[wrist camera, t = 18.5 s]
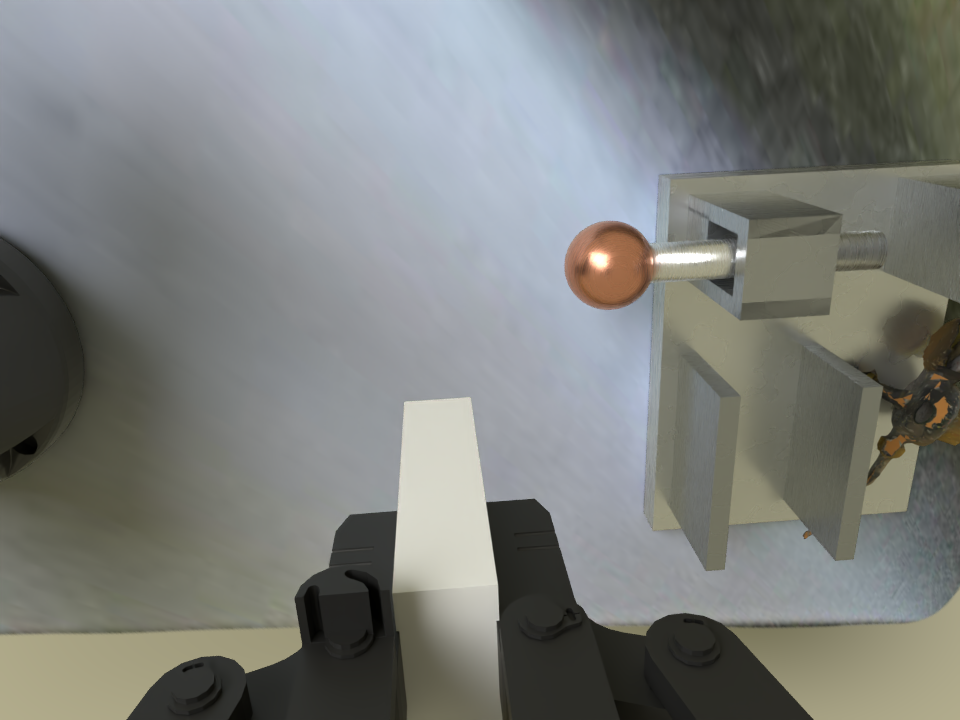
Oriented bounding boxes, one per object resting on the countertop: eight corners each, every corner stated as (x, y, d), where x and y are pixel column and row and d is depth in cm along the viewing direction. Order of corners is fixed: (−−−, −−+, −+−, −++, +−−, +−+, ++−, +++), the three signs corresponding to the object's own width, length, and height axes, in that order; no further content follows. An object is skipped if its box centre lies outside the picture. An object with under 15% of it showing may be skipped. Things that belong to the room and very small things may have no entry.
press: (643, 512, 46) (791, 805, 27) (658, 174, 38) (877, 260, 20) (887, 494, 47) (1192, 766, 28) (949, 159, 39) (1424, 227, 20)
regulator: (841, 554, 44) (1012, 352, 40) (859, 583, 40) (1049, 361, 36) (734, 484, 45) (892, 279, 41) (742, 505, 41) (917, 281, 37)
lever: (557, 298, 35) (573, 323, 31) (557, 216, 34) (573, 232, 30) (846, 281, 36) (895, 303, 32) (858, 199, 34) (910, 213, 31)
